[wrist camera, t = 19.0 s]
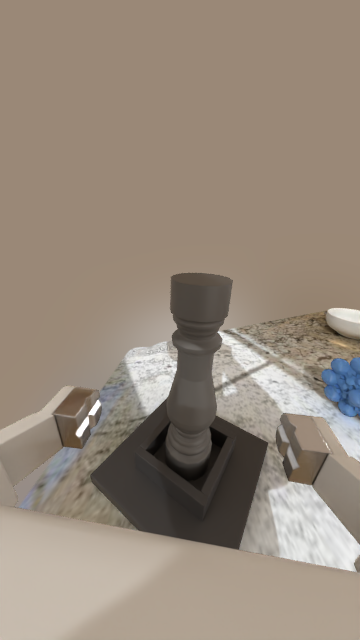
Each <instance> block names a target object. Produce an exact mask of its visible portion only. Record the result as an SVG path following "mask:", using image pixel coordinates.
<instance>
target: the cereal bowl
mask: <svg viewBox="0 0 360 640" xmlns="http://www.w3.org/2000/svg"><path fill="white" fill-rule="evenodd" d="M326 322H327V324H328V325H329V326H330V327H331V328H332V329H334V330H335V331H337V332H338V333H339V334H341V335H343V336H345V337H348V338H352V339H358V340H360V311H359V310H353V309H344V308H333V309H329V310H328V311H327V314H326Z"/></svg>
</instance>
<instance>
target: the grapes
mask: <svg viewBox="0 0 360 640" xmlns="http://www.w3.org/2000/svg"><path fill="white" fill-rule="evenodd" d="M331 368H332V370H331V369H326V370H324V371H323V372H322V374H321V377H322V379H323V381H324V382H325V383H326V384H327V386H326V387H325V388H324V393H325V395H326V397H327V398H328V399H330V400H331V401H334V402H338V407H339V409H340V411H341V412H342V413H343V414H344V415H347V416H349V417H354V416H356V415H357V414H358V415H359V417H360V357H357V358H354V359H353V360H352V361H351V362H350V365H349V363H348V362H347V361H345V360H344V359H341V358H337V359H334V360H333V361H332V362H331Z"/></svg>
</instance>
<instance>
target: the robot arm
mask: <svg viewBox="0 0 360 640" xmlns="http://www.w3.org/2000/svg"><path fill="white" fill-rule="evenodd" d="M99 397H100V393H99V390H96V389H89V388H83V387H75V386H68V385H66V386H64V387H63V388H62V389H61V390H60V391H59V392H58V393H57V394H56V395H55V396H54V397H53V398H52V399H51V400H50V402H49V403H48V404H47V405H46V406H45V407H44V408H43V409H42V410H41V411H40V412H39V413H36V412H35V413H33V414H31V415H29V416H27V417H25V418H23V419H21V420H19V421H17V422H15V423H13V424H11V425H9V426H7V427H5V428H3V429H1V430H0V640H360V555H359V556H358V557H357V559H356V560H355V563H354V565H355V568H356V570H357V572H353V571H347V570H342V569H337V568H332V567H326V566H321V565H316V564H311V563H306V562H300V561H295V560H290V559H285V558H279V557H274V556H269V555H264V554H258V553H253V552H248V551H243V550H237V549H232V548H227V547H222V546H216V545H211V544H206V543H201V542H195V541H190V540H185V539H179V538H174V537H169V536H164V535H158V534H153V533H148V532H143V531H137V530H132V529H127V528H122V527H116V526H111V525H106V524H100V523H95V522H90V521H85V520H79V519H74V518H69V517H64V516H58V515H53V514H48V513H43V512H37V511H32V510H27V509H22V508H16V507H15V505H16V504H17V502H18V496H17V494H16V492H15V490H14V486H15V485H16V484H18V483H19V482H20V481H22V480H23V479H24V478H25V477H27V476H28V475H29V474H30V473H32V472H33V471H34V470H35V469H37V468H38V467H39V466H40V465H42V464H43V463H44V462H45V461H47V460H48V459H49V458H51V457H52V456H53V455H54V454H56V453H57V452H58V451H59V450H61V449H62V448H63V447H71V448H79V449H82V448H83V447H84V445H85V443H86V442H87V440H88V438H89V437H90V435H91V433H90V429H91V428H93V427H94V426H96V424H97V423H98V421H99V418H100V415H101V410H102V406H101V403H100V402H99V401H98V399H99ZM280 421H281V423H282V425H280V426H279V427H277V431H276V443H277V447H278V451H279V452H280V453H281V454H282V456H283V457H284V460H283V466H284V469H285V472H286V475H287V478H288V481H291V482H296V483H302V484H307V485H312V487H313V488H314V490H315V491H316V492H317V493H318V494H319V496H320V497H321V498H322V499H323V501H324V502H325V503H326V504H327V505H328V507H329V508H330V509H331V510H332V511H333V513H334V514H335V515H336V516H337V518H338V519H339V520H340V521H341V522H342V524H343V525H344V526H345V527H346V528H347V530H348V531H349V532H350V533H351V535H352V536H353V537H354V538H355V539H356V541H357V542H358V543H359V544H360V462H358V461H357V460H356V459H355V458H353V457H349V456H348V455H347V453H346V452H345V450H344V448H343V447H342V445H341V444H340V442H339V441H338V439H337V438H336V436H335V434H334V433H333V431H332V430H331V428H330V427H329V425H328V424H327V422H326V421H325V419H323V418H322V417H313V416H305V415H296V414H287V413H283V414H282V415H281V418H280Z"/></svg>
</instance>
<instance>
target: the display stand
mask: <svg viewBox="0 0 360 640" xmlns="http://www.w3.org/2000/svg"><path fill="white" fill-rule="evenodd" d="M167 399H168V398H167ZM167 399H166V400H165V401H164V402H163V403H162V404H161V405H160V406H159V407H158V408H157V409H156V410H155V411H154V412H153V413H152V414H151V415H150V416H149V417H148V418H147V419H146V420H145V421H144V422H143V423H142V424H141V425H140V426H139V427H138V428H137V429H136V430H135V431H134V432H133V433H132V434H131V435H130V436H129V437H128V438H127V439H126V440H125V441H124V442H123V443H122V444H121V445H120V446H119V447H118V448H117V449H116V450H115V451H114V452H113V453H112V454H111V455H110V456H109V457H108V458H107V459H106V460H105V461H104V462H103V463H102V464H101V465H100V466H99V467H98V468H97V469H96V470H95V471H94V472H93V473H92V474H91V480H92V483H93V484H94V485H95V486H96V487H97V488H98V489H99V490H100V491H101V492H102V493H103V494H104V495H105V496H106V497H107V498H108V499H109V500H110V501H111V502H112V503H113V504H114V505H115V506H116V507H117V508H118V510H119V511H120V512H121V513H122V514H123V515H124V516H125V517H126V518H127V519H128V520H129V521H130V522H131V523H132V524H133V525H134V526H135V527H136V528H137V529H138V530H139V531H143V532H148V533H153V534H158V535H164V536H169V537H174V538H179V539H185V540H190V541H195V542H201V543H206V544H211V545H216V546H222V547H227V548H232V549H237V550H239V546H240V543H241V539H242V535H243V532H244V528H245V525H246V521H247V518H248V514H249V510H250V507H251V503H252V500H253V496H254V493H255V489H256V485H257V482H258V478H259V475H260V471H261V468H262V464H263V460H264V457H265V453H266V450H267V446H268V443H267V442H266V441H264V440H262V439H260V438H258V437H256V436H254V435H252V434H250V433H248V432H246V431H244V430H243V429H241V428H239V427H237V426H235V425H233V424H231V423H229V422H227V421H225V420H223V419H221V418H220V417H218V416H215V419H214V421H213V422H212V424H211V425H210V426H209V429H210V433H211V442H212V446H211V453H210V460H209V466H208V469H207V470H206V472H205V473H204V475H203V476H201V477H200V478H198V479H196V480H191V481H186V480H185V479H183V478H182V477H181V476H179V475H178V474H177V473H175V472H174V471H173V470H171V469H170V468H169V467H168V466H167V464H166V436H167V434H168V429H169V426H170V423H171V421H170V419H169V417H168V415H167Z"/></svg>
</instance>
